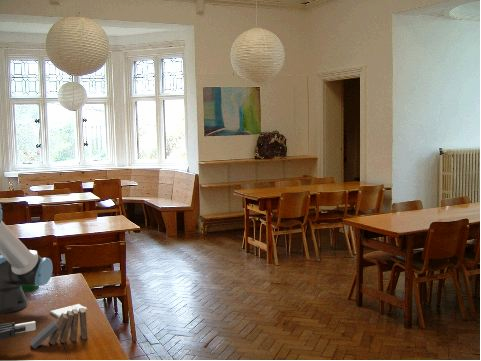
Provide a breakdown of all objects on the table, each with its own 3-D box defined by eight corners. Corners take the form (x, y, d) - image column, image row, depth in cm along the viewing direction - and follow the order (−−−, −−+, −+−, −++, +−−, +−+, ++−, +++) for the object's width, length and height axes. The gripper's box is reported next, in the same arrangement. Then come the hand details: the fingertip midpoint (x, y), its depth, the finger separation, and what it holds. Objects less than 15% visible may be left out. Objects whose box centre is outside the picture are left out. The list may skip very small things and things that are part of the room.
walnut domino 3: (71, 341, 187) (74, 313, 187) (69, 336, 191) (72, 309, 191) (76, 340, 188) (78, 313, 187) (74, 336, 192) (76, 309, 192)
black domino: (31, 346, 181) (55, 324, 184) (30, 341, 186) (53, 320, 189) (34, 349, 182) (58, 328, 185) (33, 344, 186) (56, 323, 189)
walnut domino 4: (83, 339, 189) (81, 312, 188) (80, 335, 193) (79, 308, 192) (87, 338, 189) (85, 311, 188) (85, 334, 194) (83, 307, 193)
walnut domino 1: (50, 343, 184) (63, 317, 185) (48, 338, 188) (62, 312, 190) (54, 345, 184) (68, 318, 186) (52, 340, 189) (66, 314, 190)
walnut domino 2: (60, 342, 185) (69, 314, 186) (59, 337, 190) (67, 310, 190) (65, 343, 186) (73, 315, 187) (63, 338, 190) (71, 311, 191)
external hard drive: (50, 314, 218) (78, 307, 226) (58, 319, 212) (87, 311, 220) (49, 310, 218) (78, 303, 226) (58, 315, 212) (86, 307, 220)
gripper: (-40, 343, 180) (34, 329, 190) (-42, 357, 168) (37, 342, 178) (-42, 321, 179) (33, 309, 189) (-44, 334, 167) (36, 320, 177)
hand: (35, 325), depth 183 cm, fingers closed
